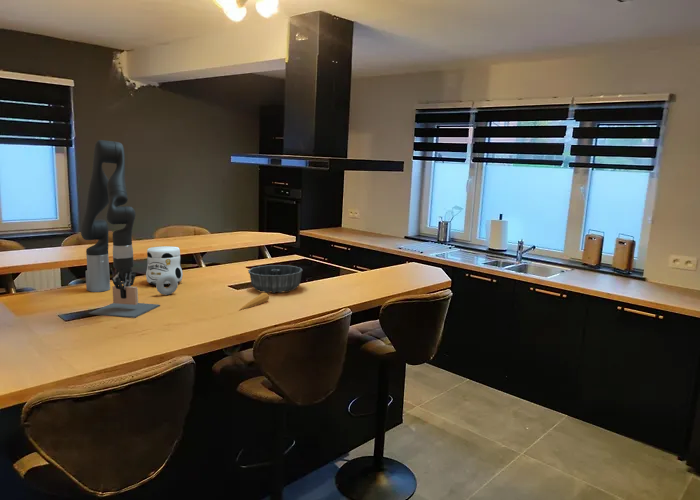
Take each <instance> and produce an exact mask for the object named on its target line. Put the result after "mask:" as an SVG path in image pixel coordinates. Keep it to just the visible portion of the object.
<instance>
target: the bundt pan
mask: <svg viewBox="0 0 700 500" xmlns="http://www.w3.org/2000/svg"><path fill="white" fill-rule="evenodd" d="M247 271H248V274H249V278H250V283H251V286H252V287H253V288H254V289H255V290H257V291H258V292H259V293H267V294H268V293H272V294H275V293H289V292H290V291H293V290H296V289H298V287H299V286H300V284H301V281H302V280H301V279H302V273H303V268H301V267H300V266H299V267H298V266H296V265H295V266H294V265H289V264H287V265H285V264H284V265H283V264H282V265H281V264H275V265H274V264H269V265H259V266H256V267H251V268H250V269H248V270H247Z"/></svg>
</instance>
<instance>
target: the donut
mask: <svg viewBox="0 0 700 500" xmlns="http://www.w3.org/2000/svg"><path fill="white" fill-rule="evenodd" d="M166 281H169V282H170V285H168V287H165V285H164V283H165V282H166ZM155 286H156V287H155V288H156V290H157V292H158V293H159V294H161V295H163V296H169V295H171V294H172V295H173V293H175V292H176V291H177V289H178V286H179V283H178V281H177V278H176V277H175V276H174V275H172V274H163V275H162V276H160V277H159V278H158V280H157V282H156V285H155Z"/></svg>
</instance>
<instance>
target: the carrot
mask: <svg viewBox="0 0 700 500" xmlns="http://www.w3.org/2000/svg"><path fill="white" fill-rule="evenodd" d="M269 300H270V295H269V294H268V293H267V292H260V294H258V295H257V296H255V297H254V298H253V299H251V300H250V301H249V302H247V303H246V304H244V305H243V306H242V307H240V308H239V309H238V310H239V311H243V310H246V309H249V307H250V308H252V306H253V307H255V305H256V306H258V304H259V305H261V303H262V304H264V302H265V303H267V302H268V301H269ZM242 309H243V310H242Z"/></svg>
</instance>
